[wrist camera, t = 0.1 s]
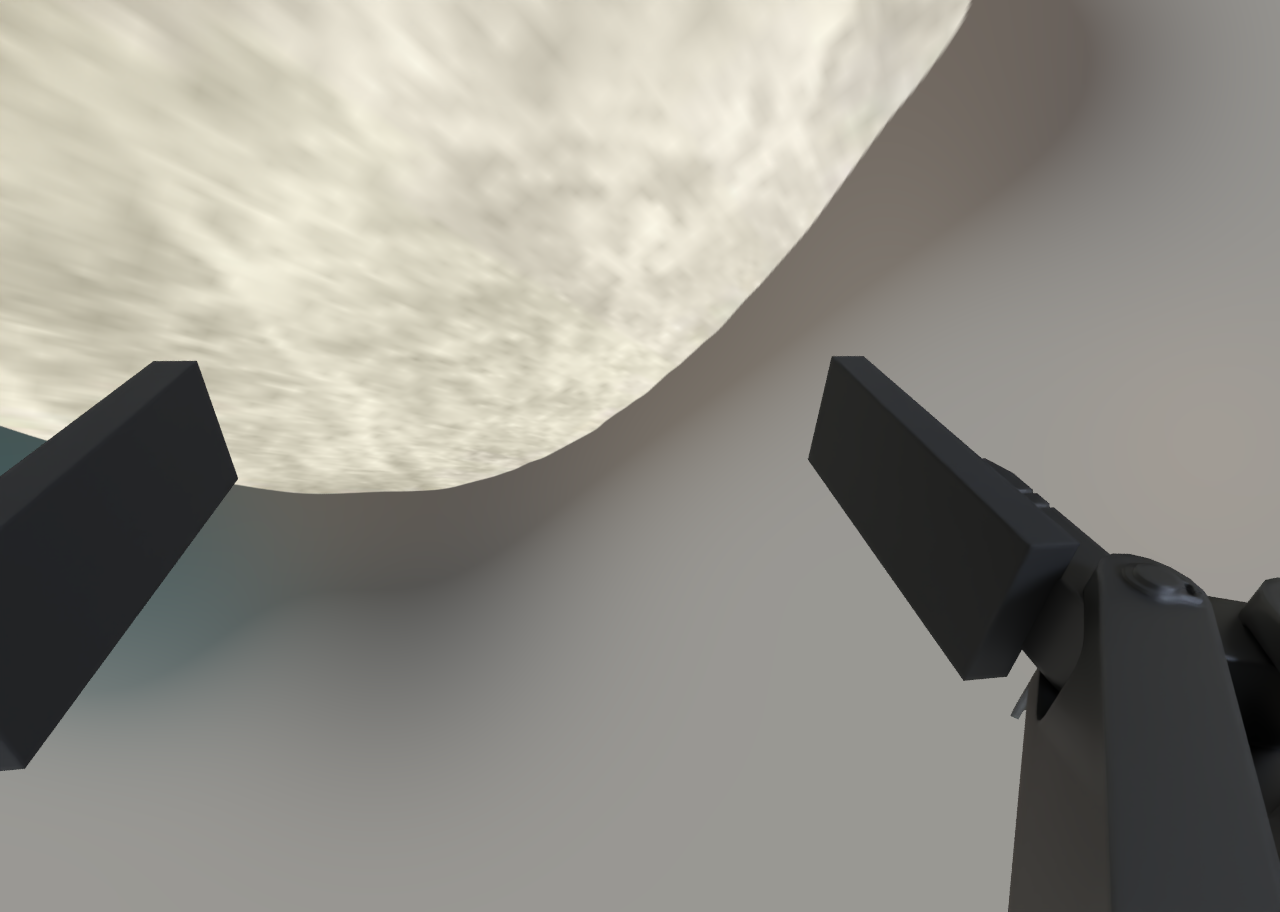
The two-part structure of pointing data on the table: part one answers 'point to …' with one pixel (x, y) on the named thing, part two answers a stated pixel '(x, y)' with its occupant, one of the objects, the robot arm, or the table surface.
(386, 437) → the table surface
